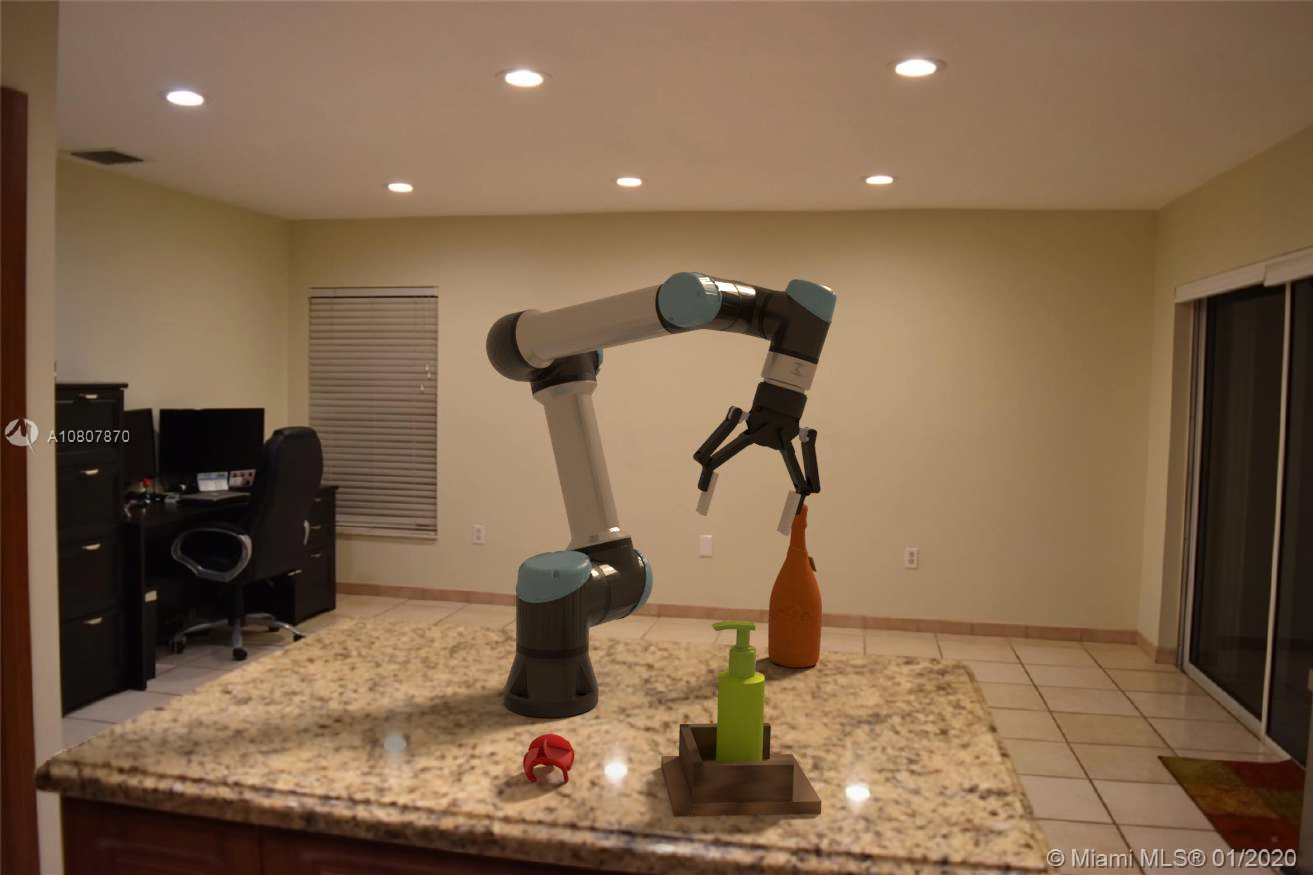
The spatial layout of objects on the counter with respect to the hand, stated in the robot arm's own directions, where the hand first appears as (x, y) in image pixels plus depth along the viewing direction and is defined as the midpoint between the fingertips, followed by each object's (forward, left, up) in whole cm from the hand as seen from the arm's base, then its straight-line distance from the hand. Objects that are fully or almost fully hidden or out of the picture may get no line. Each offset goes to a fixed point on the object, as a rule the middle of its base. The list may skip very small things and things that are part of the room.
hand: (742, 523), depth 135 cm
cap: (-28, -16, -31) cm, 45 cm away
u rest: (-4, -20, -31) cm, 37 cm away
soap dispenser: (-4, -20, -30) cm, 36 cm away
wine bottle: (+17, +32, -31) cm, 48 cm away
